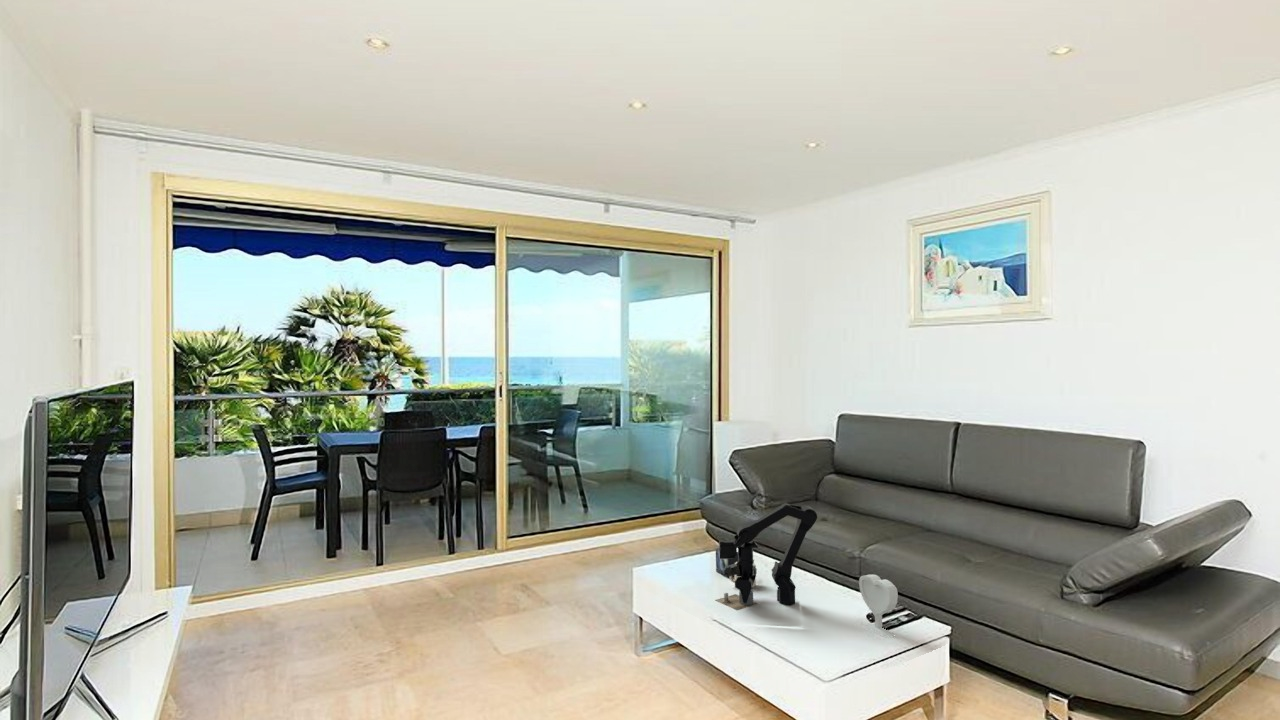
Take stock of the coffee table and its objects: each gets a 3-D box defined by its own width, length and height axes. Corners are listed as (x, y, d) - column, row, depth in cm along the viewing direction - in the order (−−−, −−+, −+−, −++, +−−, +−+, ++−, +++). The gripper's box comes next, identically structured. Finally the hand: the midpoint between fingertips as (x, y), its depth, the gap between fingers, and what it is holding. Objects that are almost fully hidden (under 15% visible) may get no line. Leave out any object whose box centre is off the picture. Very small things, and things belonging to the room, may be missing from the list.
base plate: (758, 605, 262) (758, 595, 262) (737, 612, 256) (736, 602, 256) (735, 596, 273) (735, 586, 273) (714, 602, 267) (714, 592, 267)
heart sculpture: (858, 622, 244) (857, 572, 244) (869, 620, 246) (868, 570, 246) (888, 639, 230) (887, 586, 229) (900, 636, 231) (899, 584, 231)
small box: (715, 571, 304) (714, 548, 304) (727, 569, 307) (727, 546, 307) (727, 578, 294) (727, 554, 294) (740, 576, 297) (740, 552, 297)
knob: (739, 599, 267) (739, 586, 267) (753, 600, 266) (753, 587, 266) (739, 604, 262) (738, 591, 261) (753, 605, 261) (752, 591, 260)
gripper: (728, 550, 275) (729, 589, 275) (721, 564, 257) (721, 605, 257) (756, 552, 272) (757, 591, 272) (750, 566, 254) (751, 608, 254)
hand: (746, 598), depth 264 cm, fingers open, 9 cm apart
